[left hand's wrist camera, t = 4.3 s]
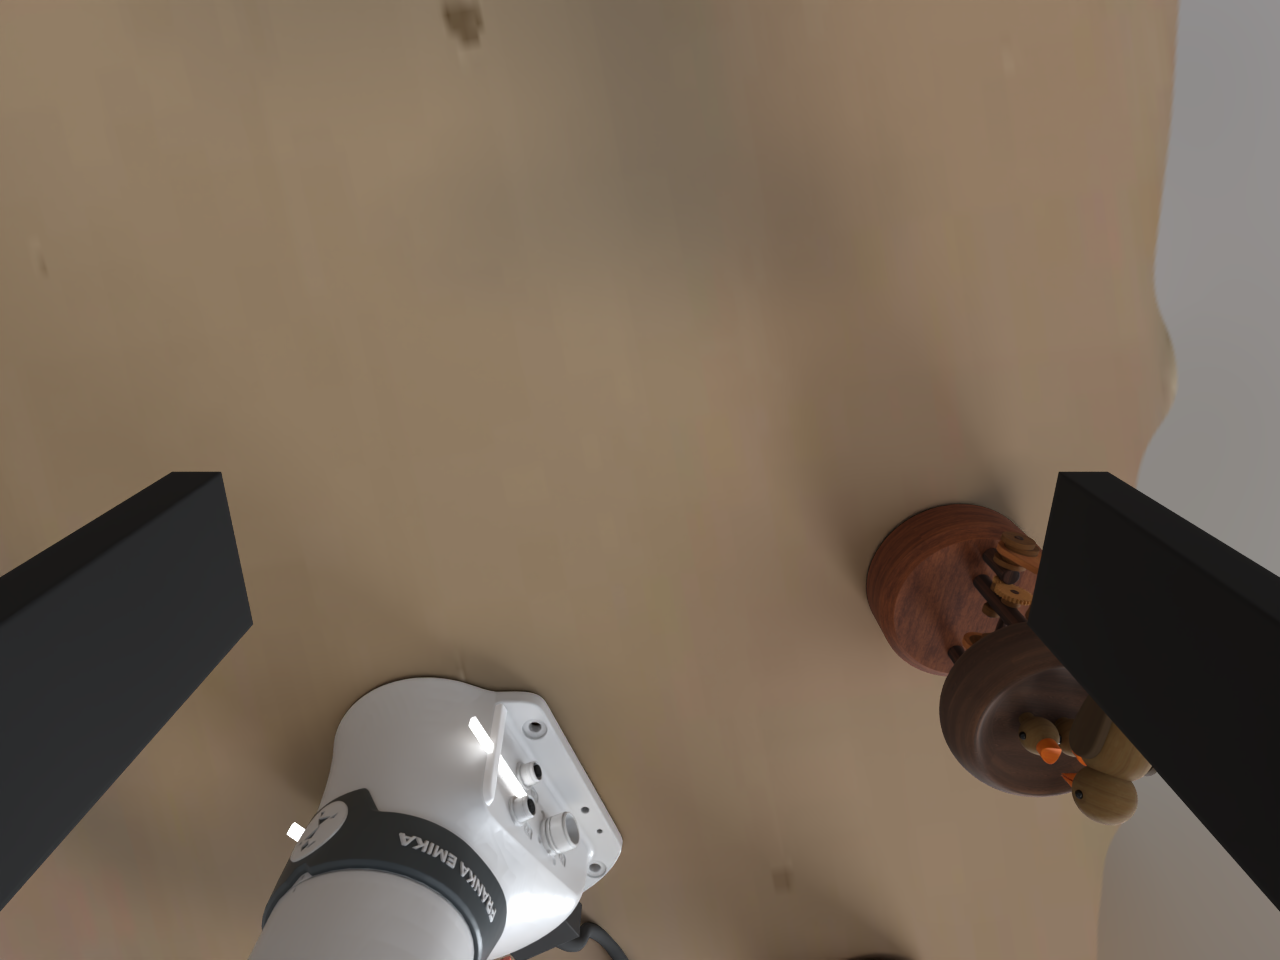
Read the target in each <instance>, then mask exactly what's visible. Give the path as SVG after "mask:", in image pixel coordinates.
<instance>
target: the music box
mask: <svg viewBox="0 0 1280 960" xmlns="http://www.w3.org/2000/svg"><path fill="white" fill-rule="evenodd" d="M1041 555H1042V549H1041V548H1040V547H1039V546H1038V545H1037V544H1036V542H1035V541H1034V540H1033V539H1031V538H1029V537H1028V536H1027V535H1026V534H1025V533H1024V532H1022V531H1021V530H1020V529H1019V528H1018V527H1017V526H1016V525H1015V524H1014V523H1012V522H1011V521H1010V520H1009V519H1008V518H1006V517H1005V516H1003V515H1001V514H1000V513H998V512H996V511H993V510H991V509H988V508H985V507H981V506H976V505H969V504H953V505H945V506H940V507H936V508H933V509H929V510H927V511H924V512H922V513H919V514H917V515H915V516H913V517H912V518H910V519H908V520H907V521H905V522H904V523H902V524H901V525H900V526H898V527H897V528H896V529H895V530H894V531H893V532H892V533H891V534H890V535H889V536H888V537H887V538H886V539H885V540H884V541H883V543H882V544H881V546H880V547H879V548H878V550H877V552H876V554H875V555H874V558H873V560H872V562H871V565H870V568H869V572H868V577H867V598H868V602H869V606H870V608H871V611H872V613H873V615H874V617H875V619H876V621H877V622H878V624H879V626H880V628H881V630H882V632H883V633H884V635H885V637H886V639H887V641H888V643H889V644H890V646H891V647H892V649H893V650H894V651H895V652H896V653H897V654H898V655H899V656H900V657H901V658H902V659H903V660H904V661H906V662H907V663H909V664H910V665H912V666H914V667H915V668H917V669H920V670H922V671H925V672H928V673H931V674H935V675H941V676H947V678H946V680H945V682H944V685H943V688H942V692H941V697H940V706H939V714H940V723H941V728H942V732H943V735H944V738H945V740H946V743H947V745H948V747H949V748H950V750H951V752H952V753H953V755H954V756H955V758H956V759H957V760H958V762H959V763H960V764H961V765H962V766H963V767H964V768H965V769H966V770H967V771H968V772H969V773H970V774H972V775H973V776H974V777H976V778H977V779H978V780H980V781H982V782H983V783H985V784H987V785H989V786H991V787H993V788H995V789H998V790H1000V791H1003V792H1006V793H1010V794H1014V795H1019V796H1028V797H1047V796H1056V795H1061V794H1066V793H1069V792H1072V795H1073V799H1074V801H1075V803H1076V805H1077V806H1078V808H1079V809H1080V810H1081V812H1082V813H1083V814H1085V815H1086V816H1087V817H1088V818H1090V819H1091V820H1093V821H1095V822H1098V823H1101V824H1105V825H1117V824H1121V823H1124V822H1126V821H1127V820H1129V819H1130V818H1131V817H1132V816H1133V814H1134V813H1135V811H1136V809H1137V804H1138V797H1137V792H1136V789H1135V787H1134V785H1133V783H1132V782H1131V781H1135V780H1137V779H1140V778H1141V777H1143V776H1151V775H1153V774H1155V773H1156V772H1157V771H1156V770H1155V769H1154V768H1153V767H1152V766H1151V765H1150V763H1149V762H1148V761H1147V760H1146V759H1145V758H1144V757H1143V755H1142V754H1141V753H1140V752H1139V751H1138V750H1137V749H1136V747H1135V746H1134V745H1133V744H1132V743H1131V742H1130V741H1129V740H1128V738H1127V737H1126V736H1125V735H1124V734H1123V733H1122V732H1121V730H1120V729H1119V728H1118V727H1117V726H1116V725H1115V724H1114V722H1113V721H1112V720H1111V719H1110V718H1109V717H1108V716H1107V715H1106V713H1105V712H1104V711H1103V710H1102V709H1101V708H1100V707H1099V705H1098V704H1097V703H1096V702H1095V701H1094V700H1093V699H1092V698H1091V696H1090V695H1089V694H1088V693H1087V692H1086V691H1085V690H1084V688H1083V687H1082V686H1081V685H1080V684H1079V683H1078V682H1077V680H1076V679H1075V678H1074V677H1073V676H1072V675H1071V674H1070V673H1069V671H1068V670H1067V669H1066V668H1065V667H1064V666H1063V665H1062V663H1061V662H1060V661H1059V660H1058V659H1057V658H1056V657H1055V655H1054V654H1053V653H1052V652H1051V651H1050V650H1049V649H1048V648H1047V646H1046V645H1045V644H1044V643H1043V642H1042V641H1041V640H1040V638H1039V637H1038V636H1037V635H1036V634H1035V633H1034V632H1033V631H1032V629H1031V628H1030V627H1029V626H1028V625H1027V621H1028V616H1029V612H1030V607H1031V602H1032V597H1033V593H1034V588H1035V583H1036V578H1037V574H1038V569H1039V564H1040V559H1041Z"/></svg>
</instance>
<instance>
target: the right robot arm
mask: <svg viewBox="0 0 1280 960" xmlns="http://www.w3.org/2000/svg"><path fill="white" fill-rule="evenodd" d="M532 722H537V723H539V724H540V725H533V724H532ZM287 835H289V836H290V837H292V838H293V839H295V840H296V841H297V844H296V845H295V847H294V849H293V851H292V854H291V856H290V858H289V860H288V862H287V864H286V866H285V868H284V870H283V872H282V874H281V876H280V878H279V880H278V882H277V884H276V886H275V889H274V891H273V893H272V895H271V897H270V899H269V901H268V903H267V906H266V908H265V911H264V914H263V919H262V932H261V934H260V936H259V938H258V940H257V942H256V944H255V946H254V948H253V950H252V952H251V954H250V956H249V958H248V960H493V959H496V958H499V957H502V956H505V955H507V954H511V955H512V956H513V957H514V958H515V960H527V959H529V958H532V957H534V956H536V955H538V954H541V953H543V952H545V951H547V950H550V949H552V948H554V947H557V948H559V949H561V950H564V951H567V952H577V951H580V950H581V949H582V948H583V947H584V946H585V945H586V943H587V941H588V939H589V938H592V939H594V940H595V941H597V942H598V943H599V944H601V945H602V946H603V947H604V949H605V950H606V951H607V952H608V953H609V955H610V956H611V958H612V959H613V960H628V958H627V957H626V955H625V954H624V952H623V951H622V949H621V948H620V947H619V945H618V944H617V943H616V942H615V941H614V940H613V939H612V938H611V936H610V935H609V934H608V933H607V932H606V931H605V930H603V929H602V928H601V927H599V926H598V925H596V924H593V923H583V924H582V925H581V926H580V922H581V909H582V904H581V903H580V902H579V900H580V898H581V896H582V893H583V892H584V891H586V890H587V889H588V888H590V887H591V886H593V885H594V884H595V883H596V882H598V881H599V880H600V879H601V878H602V877H603V876H604V875H605V874H606V873H607V872H608V871H609V870H610V869H611V868H612V866H613V865H614V864H615V862H616V860H617V859H618V857H619V855H620V853H621V849H622V843H623V840H622V837H621V834H620V833H619V831H618V829H617V827H616V825H615V823H614V822H613V820H612V818H611V816H610V815H609V813H608V811H607V809H606V808H605V806H604V804H603V802H602V800H601V799H600V797H599V795H598V793H597V792H596V790H595V788H594V786H593V785H592V783H591V781H590V779H589V777H588V776H587V774H586V772H585V770H584V769H583V767H582V765H581V763H580V762H579V760H578V758H577V756H576V754H575V753H574V751H573V749H572V747H571V746H570V744H569V742H568V740H567V739H566V737H565V735H564V733H563V732H562V730H561V728H560V726H559V724H558V723H557V721H556V719H555V717H554V716H553V714H552V712H551V710H550V709H549V707H548V705H547V703H546V702H545V700H544V699H543V698H542V697H541V696H539V695H537V694H534V693H530V692H520V691H505V692H495V691H490V690H486V689H482V688H479V687H476V686H473V685H470V684H467V683H464V682H460V681H456V680H451V679H444V678H434V677H421V678H410V679H404V680H399V681H395V682H392V683H388V684H386V685H383V686H381V687H379V688H376V689H374V690H373V691H371V692H369V693H367V694H366V695H364V696H363V697H362V698H360V699H359V700H358V701H357V702H356V703H355V704H354V705H353V706H352V707H351V708H350V709H349V710H348V711H347V713H346V714H345V715H344V717H343V719H342V720H341V722H340V724H339V726H338V729H337V732H336V735H335V740H334V748H333V758H332V764H331V769H330V773H329V777H328V781H327V784H326V788H325V791H324V794H323V797H322V800H321V803H320V806H319V808H318V811H317V813H316V814H315V815H314V817H313V818H312V820H311V821H310V823H309V824H308V826H307V828H306V829H304V828H302V827H301V826H299V825H298V824H296V823H293V824H292V826H291V827H290V829H289V831H288V833H287ZM594 863H595V864H594ZM501 960H511V958H510V956H508V957H505V958H503V959H501Z"/></svg>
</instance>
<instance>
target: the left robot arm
mask: <svg viewBox="0 0 1280 960" xmlns="http://www.w3.org/2000/svg"><path fill="white" fill-rule="evenodd" d="M252 625H253V621H252V616H251V612H250V607H249V602H248V597H247V593H246V588H245V583H244V578H243V574H242V569H241V564H240V559H239V555H238V550H237V545H236V540H235V536H234V531H233V526H232V521H231V516H230V512H229V507H228V502H227V497H226V493H225V488H224V483H223V478H222V474H221V472H171V473H170V474H168V475H166V476H165V477H163V478H161V479H160V480H158V481H157V482H155V483H153V484H152V485H150V486H148V487H147V488H145V489H143V490H142V491H140V492H139V493H137V494H135V495H134V496H132V497H130V498H129V499H127V500H126V501H124V502H122V503H121V504H119V505H117V506H116V507H114V508H113V509H111V510H109V511H108V512H106V513H104V514H103V515H101V516H100V517H98V518H96V519H95V520H93V521H91V522H90V523H88V524H86V525H85V526H83V527H82V528H80V529H78V530H77V531H75V532H73V533H72V534H70V535H69V536H67V537H65V538H64V539H62V540H60V541H59V542H57V543H56V544H54V545H52V546H51V547H49V548H47V549H46V550H44V551H42V552H41V553H39V554H38V555H36V556H34V557H33V558H31V559H29V560H28V561H26V562H25V563H23V564H21V565H20V566H18V567H16V568H15V569H13V570H12V571H10V572H8V573H7V574H5V575H3V576H2V577H0V911H1V910H2V909H3V908H4V906H5V905H6V904H7V903H8V902H9V901H10V900H11V899H12V897H13V896H14V895H15V894H16V893H17V892H18V891H19V889H20V888H21V887H22V886H23V885H24V884H25V883H26V881H27V880H28V879H29V878H30V877H31V876H32V875H33V874H34V872H35V871H36V870H37V869H38V868H39V867H40V866H41V864H42V863H43V862H44V861H45V860H46V859H47V858H48V857H49V855H50V854H51V853H52V852H53V851H54V850H55V849H56V847H57V846H58V845H59V844H60V843H61V842H62V841H63V839H64V838H65V837H66V836H67V835H68V834H69V833H70V832H71V830H72V829H73V828H74V827H75V826H76V825H77V824H78V822H79V821H80V820H81V819H82V818H83V817H84V816H85V814H86V813H87V812H88V811H89V810H90V809H91V808H92V807H93V805H94V804H95V803H96V802H97V801H98V800H99V799H100V797H101V796H102V795H103V794H104V793H105V792H106V791H107V790H108V788H109V787H110V786H111V785H112V784H113V783H114V782H115V780H116V779H117V778H118V777H119V776H120V775H121V774H122V772H123V771H124V770H125V769H126V768H127V767H128V766H129V765H130V763H131V762H132V761H133V760H134V759H135V758H136V757H137V755H138V754H139V753H140V752H141V751H142V750H143V749H144V747H145V746H146V745H147V744H148V743H149V742H150V741H151V740H152V738H153V737H154V736H155V735H156V734H157V733H158V732H159V730H160V729H161V728H162V727H163V726H164V725H165V724H166V722H167V721H168V720H169V719H170V718H171V717H172V716H173V715H174V713H175V712H176V711H177V710H178V709H179V708H180V707H181V705H182V704H183V703H184V702H185V701H186V700H187V699H188V698H189V696H190V695H191V694H192V693H193V692H194V691H195V690H196V688H197V687H198V686H199V685H200V684H201V683H202V682H203V680H204V679H205V678H206V677H207V676H208V675H209V674H210V673H211V671H212V670H213V669H214V668H215V667H216V666H217V665H218V663H219V662H220V661H221V660H222V659H223V658H224V657H225V655H226V654H227V653H228V652H229V651H230V650H231V649H232V648H233V646H234V645H235V644H236V643H237V642H238V641H239V640H240V638H241V637H242V636H243V635H244V634H245V633H246V632H247V631H248V629H249V628H250V627H251V626H252ZM1027 625H1028V626H1029V627H1030V628H1031V629H1032V631H1033V632H1034V633H1035V634H1036V635H1037V636H1038V637H1039V638H1040V640H1041V641H1042V642H1043V643H1044V644H1045V645H1046V646H1047V648H1048V649H1049V650H1050V651H1051V652H1052V653H1053V654H1054V655H1055V657H1056V658H1057V659H1058V660H1059V661H1060V662H1061V663H1062V665H1063V666H1064V667H1065V668H1066V669H1067V670H1068V671H1069V673H1070V674H1071V675H1072V676H1073V677H1074V678H1075V679H1076V680H1077V682H1078V683H1079V684H1080V685H1081V686H1082V687H1083V688H1084V690H1085V691H1086V692H1087V693H1088V694H1089V695H1090V696H1091V698H1092V699H1093V700H1094V701H1095V702H1096V703H1097V704H1098V705H1099V707H1100V708H1101V709H1102V710H1103V711H1104V712H1105V713H1106V715H1107V716H1108V717H1109V718H1110V719H1111V720H1112V721H1113V722H1114V724H1115V725H1116V726H1117V727H1118V728H1119V729H1120V730H1121V732H1122V733H1123V734H1124V735H1125V736H1126V737H1127V738H1128V740H1129V741H1130V742H1131V743H1132V744H1133V745H1134V746H1135V747H1136V749H1137V750H1138V751H1139V752H1140V753H1141V754H1142V755H1143V757H1144V758H1145V759H1146V760H1147V761H1148V762H1149V763H1150V765H1151V766H1152V767H1153V768H1154V769H1155V770H1156V771H1157V772H1158V774H1159V775H1160V776H1161V777H1162V778H1163V779H1164V780H1165V782H1166V783H1167V784H1168V785H1169V786H1170V787H1171V788H1172V789H1173V791H1174V792H1175V793H1176V794H1177V795H1178V796H1179V797H1180V799H1181V800H1182V801H1183V802H1184V803H1185V804H1186V805H1187V807H1188V808H1189V809H1190V810H1191V811H1192V812H1193V813H1194V814H1195V816H1196V817H1197V818H1198V819H1199V820H1200V821H1201V822H1202V824H1203V825H1204V826H1205V827H1206V828H1207V829H1208V830H1209V832H1210V833H1211V834H1212V835H1213V836H1214V837H1215V838H1216V839H1217V841H1218V842H1219V843H1220V844H1221V845H1222V846H1223V847H1224V849H1225V850H1226V851H1227V852H1228V853H1229V854H1230V855H1231V857H1232V858H1233V859H1234V860H1235V861H1236V862H1237V863H1238V864H1239V866H1240V867H1241V868H1242V869H1243V870H1244V871H1245V872H1246V873H1247V875H1248V876H1249V877H1250V878H1251V879H1252V880H1253V881H1254V883H1255V884H1256V885H1257V886H1258V887H1259V888H1260V889H1261V891H1262V892H1263V893H1264V894H1265V895H1266V896H1267V897H1268V899H1269V900H1270V901H1271V902H1272V903H1273V904H1274V905H1275V906H1276V908H1277V909H1278V910H1279V911H1280V577H1278V576H1277V575H1275V574H1273V573H1272V572H1270V571H1268V570H1267V569H1265V568H1264V567H1262V566H1260V565H1259V564H1257V563H1255V562H1254V561H1252V560H1251V559H1249V558H1247V557H1246V556H1244V555H1242V554H1241V553H1239V552H1237V551H1236V550H1234V549H1233V548H1231V547H1229V546H1228V545H1226V544H1224V543H1223V542H1221V541H1220V540H1218V539H1216V538H1215V537H1213V536H1211V535H1210V534H1208V533H1207V532H1205V531H1203V530H1202V529H1200V528H1198V527H1197V526H1195V525H1194V524H1192V523H1190V522H1189V521H1187V520H1185V519H1184V518H1182V517H1180V516H1179V515H1177V514H1176V513H1174V512H1172V511H1171V510H1169V509H1167V508H1166V507H1164V506H1163V505H1161V504H1159V503H1158V502H1156V501H1154V500H1153V499H1151V498H1150V497H1148V496H1146V495H1145V494H1143V493H1141V492H1140V491H1138V490H1137V489H1135V488H1133V487H1132V486H1130V485H1128V484H1127V483H1125V482H1123V481H1122V480H1120V479H1119V478H1117V477H1115V476H1114V475H1112V474H1110V473H1109V472H1059V474H1058V478H1057V483H1056V488H1055V493H1054V497H1053V502H1052V507H1051V512H1050V516H1049V521H1048V526H1047V531H1046V536H1045V540H1044V545H1043V550H1042V555H1041V559H1040V564H1039V569H1038V574H1037V578H1036V583H1035V588H1034V593H1033V597H1032V602H1031V607H1030V612H1029V616H1028V621H1027Z"/></svg>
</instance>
